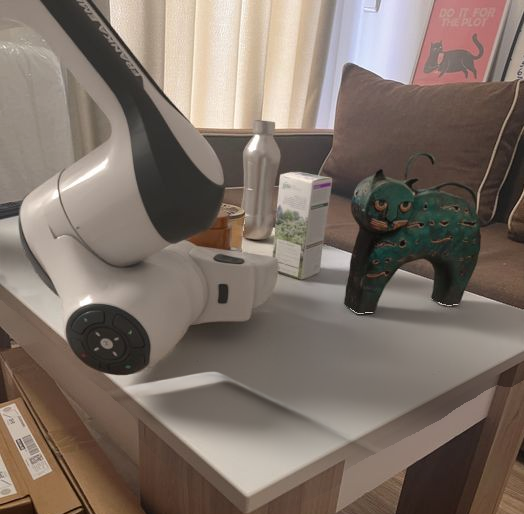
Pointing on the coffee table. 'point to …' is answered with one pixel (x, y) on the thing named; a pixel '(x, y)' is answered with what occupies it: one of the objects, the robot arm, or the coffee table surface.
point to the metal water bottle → (260, 180)
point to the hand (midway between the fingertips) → (208, 249)
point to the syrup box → (301, 223)
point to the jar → (215, 234)
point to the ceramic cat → (410, 237)
